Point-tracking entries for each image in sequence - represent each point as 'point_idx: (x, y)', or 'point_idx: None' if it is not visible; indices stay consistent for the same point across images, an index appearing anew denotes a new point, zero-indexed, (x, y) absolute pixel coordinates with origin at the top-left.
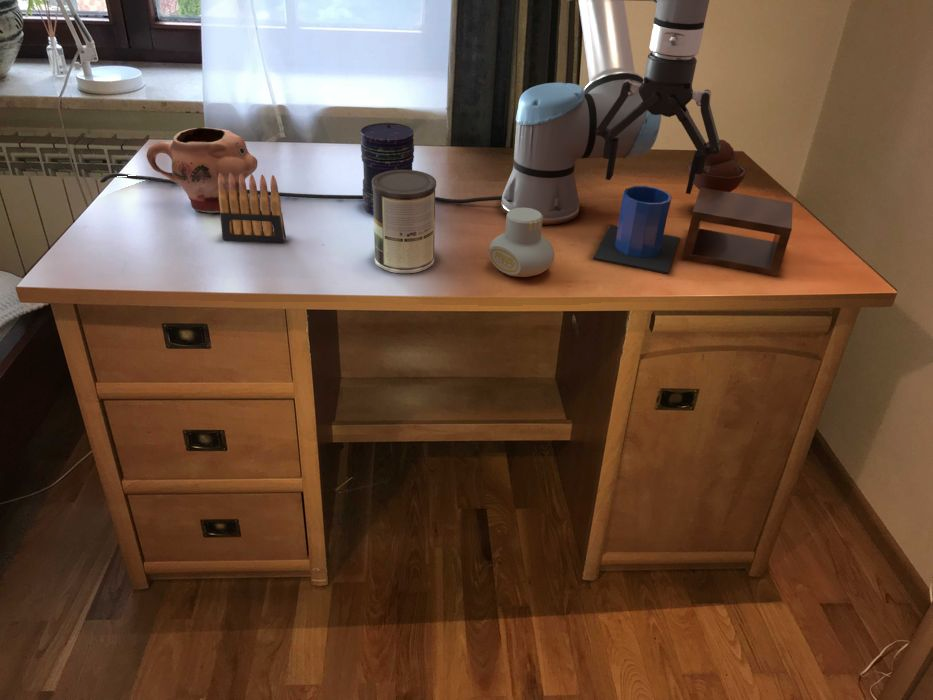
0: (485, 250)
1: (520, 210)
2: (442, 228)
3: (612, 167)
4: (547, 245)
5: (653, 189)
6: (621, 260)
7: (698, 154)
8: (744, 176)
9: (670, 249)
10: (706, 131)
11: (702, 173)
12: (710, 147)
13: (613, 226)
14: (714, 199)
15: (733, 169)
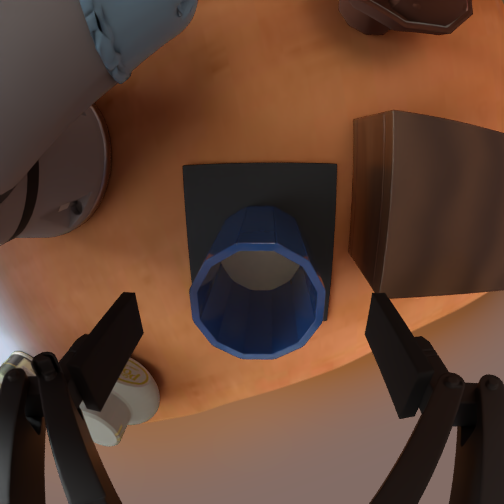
0: (66, 338)
1: None
2: (4, 296)
3: (129, 345)
4: (141, 405)
5: (265, 249)
6: None
7: (419, 401)
8: None
9: (324, 232)
10: (452, 486)
11: (382, 12)
12: (457, 433)
13: (190, 170)
14: (432, 193)
15: (461, 10)
